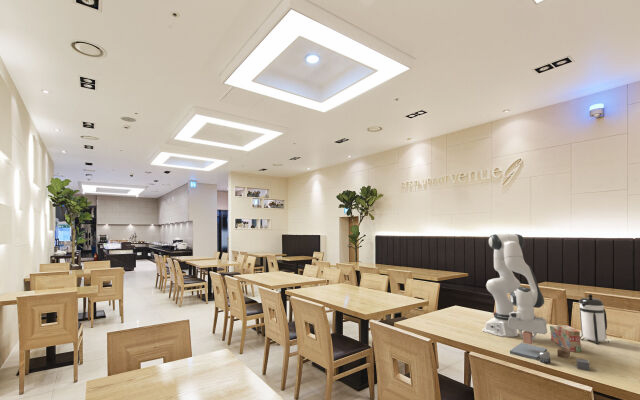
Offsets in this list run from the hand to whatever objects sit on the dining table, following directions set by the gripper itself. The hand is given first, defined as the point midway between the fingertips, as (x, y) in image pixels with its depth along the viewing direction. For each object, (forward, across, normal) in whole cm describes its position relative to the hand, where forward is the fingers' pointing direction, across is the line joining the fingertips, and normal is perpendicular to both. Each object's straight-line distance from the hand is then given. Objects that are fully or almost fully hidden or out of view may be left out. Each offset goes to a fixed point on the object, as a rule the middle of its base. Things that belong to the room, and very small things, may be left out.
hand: (528, 338), depth 199 cm
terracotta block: (+2, 0, 0) cm, 2 cm away
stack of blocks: (+8, -12, -29) cm, 33 cm away
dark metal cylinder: (+8, -11, +10) cm, 17 cm away
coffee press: (+8, -23, -53) cm, 58 cm away
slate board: (+8, 0, 0) cm, 8 cm away
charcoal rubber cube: (+8, -27, +5) cm, 28 cm away
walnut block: (+8, -16, -7) cm, 19 cm away
